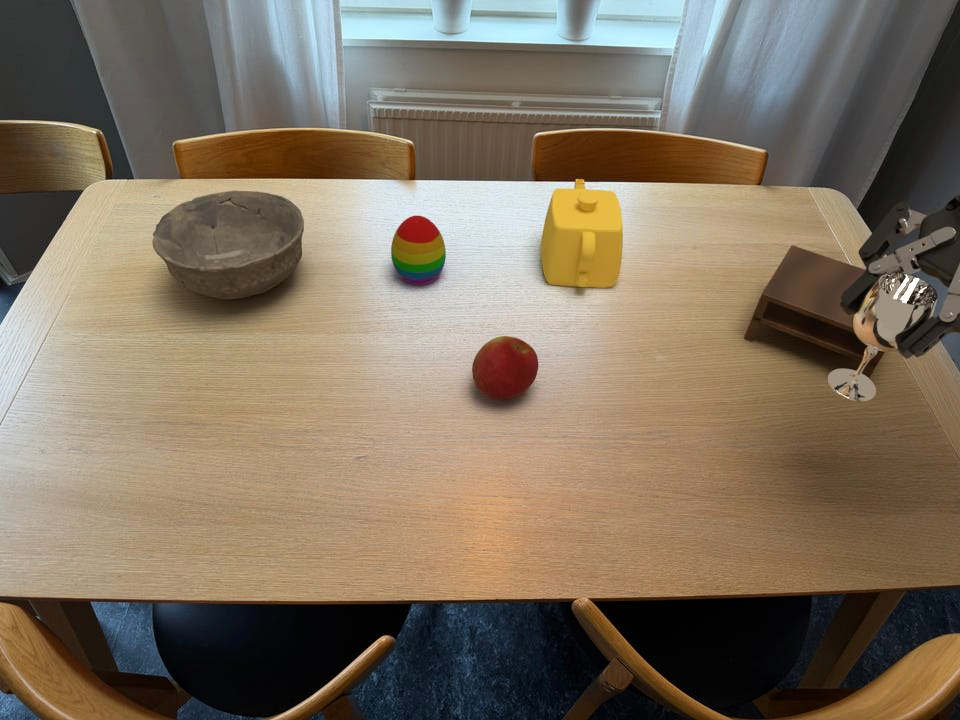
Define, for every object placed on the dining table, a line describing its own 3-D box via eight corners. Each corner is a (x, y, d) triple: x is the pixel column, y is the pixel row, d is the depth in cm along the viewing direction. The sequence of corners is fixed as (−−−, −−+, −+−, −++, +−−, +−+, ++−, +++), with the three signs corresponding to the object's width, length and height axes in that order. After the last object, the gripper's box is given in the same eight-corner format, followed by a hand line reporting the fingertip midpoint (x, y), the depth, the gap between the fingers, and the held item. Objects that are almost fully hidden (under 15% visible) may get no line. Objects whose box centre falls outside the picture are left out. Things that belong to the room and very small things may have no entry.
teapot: (538, 223, 113) (545, 159, 104) (611, 227, 112) (623, 162, 104) (540, 296, 98) (547, 228, 90) (623, 300, 98) (637, 233, 90)
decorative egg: (391, 290, 99) (386, 233, 92) (394, 258, 104) (389, 203, 97) (446, 290, 99) (444, 233, 92) (446, 258, 105) (445, 203, 98)
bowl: (343, 274, 101) (334, 218, 94) (235, 346, 89) (216, 288, 82) (253, 228, 110) (239, 174, 103) (143, 289, 98) (119, 231, 91)
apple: (527, 418, 81) (532, 372, 75) (464, 403, 82) (465, 357, 77) (540, 376, 86) (546, 330, 81) (481, 363, 88) (482, 317, 82)
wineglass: (854, 359, 68) (908, 263, 59) (896, 398, 64) (960, 302, 55) (808, 371, 66) (856, 275, 58) (848, 412, 62) (906, 315, 54)
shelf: (885, 329, 94) (911, 284, 89) (863, 386, 86) (891, 341, 80) (773, 288, 101) (791, 244, 95) (743, 338, 92) (761, 293, 87)
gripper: (953, 124, 57) (800, 271, 61) (1132, 205, 47) (936, 371, 52) (962, 169, 62) (821, 300, 66) (1124, 249, 53) (948, 396, 57)
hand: (872, 331), depth 59 cm, fingers closed on wineglass, 5 cm apart
